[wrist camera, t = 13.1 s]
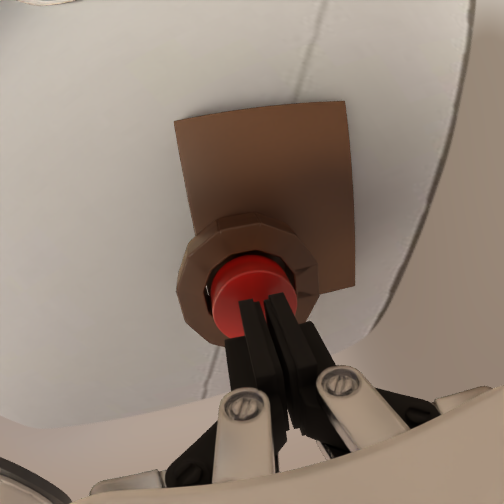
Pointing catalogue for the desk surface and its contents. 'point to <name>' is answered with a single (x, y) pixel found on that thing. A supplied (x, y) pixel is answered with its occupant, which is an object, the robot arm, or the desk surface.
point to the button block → (267, 201)
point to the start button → (246, 289)
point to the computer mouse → (44, 2)
